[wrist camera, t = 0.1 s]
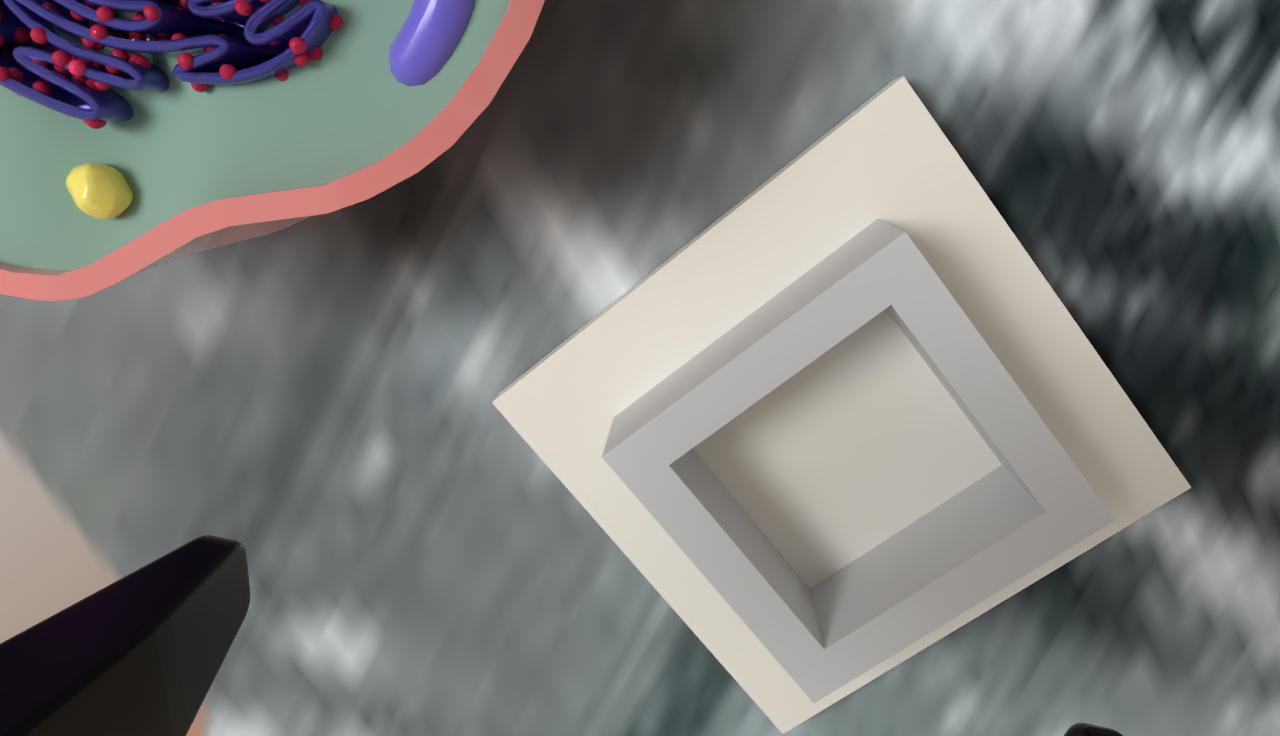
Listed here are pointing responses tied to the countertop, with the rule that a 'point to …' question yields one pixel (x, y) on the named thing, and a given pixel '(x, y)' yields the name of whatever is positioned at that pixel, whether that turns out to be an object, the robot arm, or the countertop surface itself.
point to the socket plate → (843, 417)
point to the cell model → (221, 120)
